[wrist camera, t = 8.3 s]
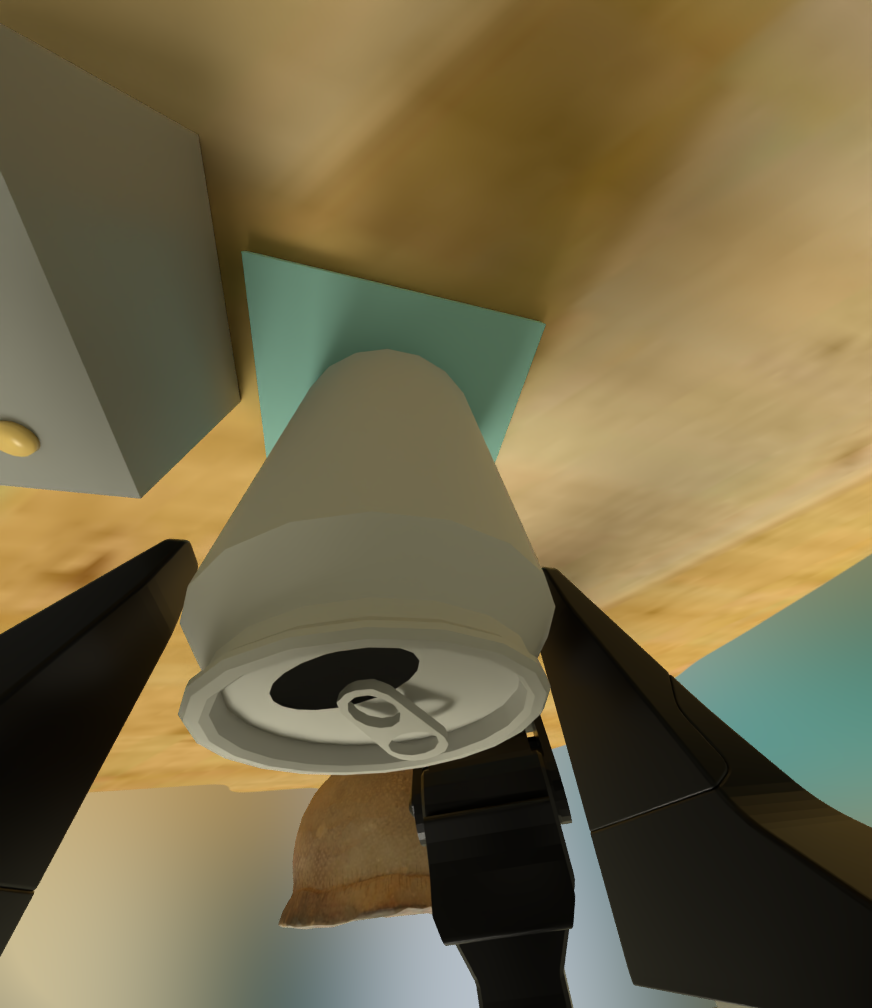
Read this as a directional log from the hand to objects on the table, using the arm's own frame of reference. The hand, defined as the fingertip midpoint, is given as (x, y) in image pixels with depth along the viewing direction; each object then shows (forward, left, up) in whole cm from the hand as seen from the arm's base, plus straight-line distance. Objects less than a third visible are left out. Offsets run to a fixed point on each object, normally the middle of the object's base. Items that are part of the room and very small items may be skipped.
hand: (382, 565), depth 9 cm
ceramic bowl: (-6, +49, -9) cm, 50 cm away
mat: (0, 0, -9) cm, 9 cm away
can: (0, 0, -8) cm, 8 cm away
